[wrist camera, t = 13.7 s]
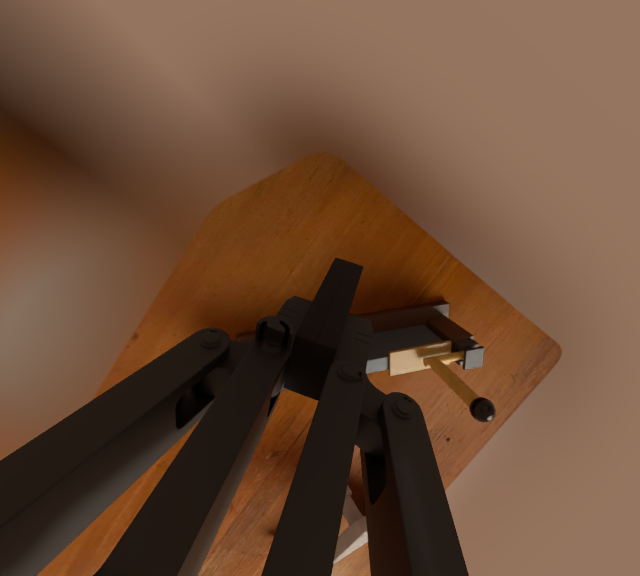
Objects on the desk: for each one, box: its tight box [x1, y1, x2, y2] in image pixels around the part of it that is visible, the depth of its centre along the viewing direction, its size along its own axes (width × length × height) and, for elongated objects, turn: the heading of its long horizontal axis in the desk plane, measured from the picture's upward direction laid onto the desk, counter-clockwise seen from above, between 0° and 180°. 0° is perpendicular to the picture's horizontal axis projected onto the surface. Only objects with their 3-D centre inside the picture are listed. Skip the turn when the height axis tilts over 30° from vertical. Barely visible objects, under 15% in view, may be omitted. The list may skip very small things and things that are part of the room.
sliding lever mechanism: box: [237, 301, 484, 390], centre depth 40 cm, size 29×7×9 cm, turn 94°
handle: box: [333, 485, 368, 564], centre depth 51 cm, size 18×8×20 cm
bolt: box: [423, 351, 496, 422], centre depth 34 cm, size 7×2×10 cm, turn 94°
